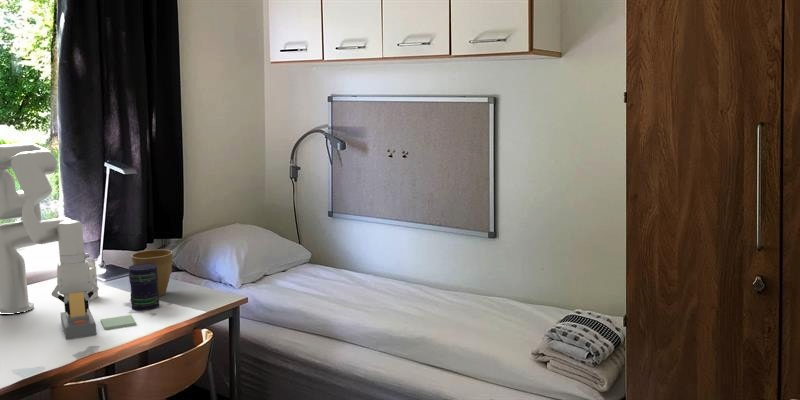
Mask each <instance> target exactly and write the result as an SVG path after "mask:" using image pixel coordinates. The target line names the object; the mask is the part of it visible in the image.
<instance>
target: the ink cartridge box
mask: <svg viewBox="0 0 800 400" xmlns="http://www.w3.org/2000/svg"><path fill="white" fill-rule="evenodd" d="M85 260H87V261H88V265H89V269H90V275H91V280H92V282H93V283H94V284H95V285H96V286H97V287H98V277H97V276H98V275H97V266H96V259H95V258H86V259H85ZM92 289H93V287H92ZM92 289H91V290H92ZM91 290H90V291H91ZM88 292H89V291H87V293H88ZM98 296H99V290H97V291H96V292H95V293H94V294H93V295H92V296H91V297H90V298H89V300H94V299H95V298H97V297H98ZM89 300H88V301H89Z"/></svg>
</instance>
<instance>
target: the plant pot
mask: <svg viewBox="0 0 800 400" xmlns="http://www.w3.org/2000/svg"><path fill="white" fill-rule="evenodd" d="M173 254H174V253H173V251H172V250H170V249H149V250H142V251H138V252H134V253H132V254H131V255H130V257H131V260H132V265H136V264H143V263H152V264H156V265H157V272H158V281H157V285H158V291H159V297H162V296H164V295H166V292H167V289H168V285H169V281H170V277H171V272H172V266H173V265H172V264H173Z"/></svg>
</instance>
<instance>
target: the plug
mask: <svg viewBox="0 0 800 400" xmlns="http://www.w3.org/2000/svg"><path fill="white" fill-rule="evenodd" d="M68 295H69V297H68V301H69V306H70V315H68V313H66V317H67V320H68V322H69V321H76V320H83V319H89V315H88V312H87V313H85V304H84V292H77V293H70V294H68Z"/></svg>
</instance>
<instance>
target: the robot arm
mask: <svg viewBox="0 0 800 400" xmlns="http://www.w3.org/2000/svg"><path fill="white" fill-rule="evenodd" d="M57 169H58V161H57V158H56V156H55V155H54V153H53V152H51V151H50V150H49V149H47V148H46V147H43V146H41V145H38V144H36V143H32V142H21V143H11V144H10V143H8V144H7V143H5V144H0V221H5V220H13V219H19V218H21V220H17V221H11V222H5V223H1V224H0V312H1V313H17V312H24V311H27V312H29V311H28V310H30V311H32V310H33V309H34V308H35V307H34V303H33V302H29V292H28V281H27V280H28V279H27V273H26V271H27V270H26V262H25V259H24V257H23V256H22V255H21V254H20V253H19V252H18V249H21V248H26V247H31V246H35V245H46V244H49V243H55V242H57V244H58V251H59V263H58V264H57V268H56V276H57V277H56V278H57V279H56V281H57V285H56V286H55V287H54V289H53V291H52V293H51V296H52V297H54V298H56V299H58V300H59V301H61V302H62V303H63V304H64V312H67V313H68V315H70V306H69V301H68V297H69V295H68V294H70V293H77V292H84V304H85V313H87V309H89V310H90V306H89V298H90V297H91V296H92V295H93V294H94V293H95V292H96V291H97V290H98V291H99V286H98V285H97V286H96V285H95V284H94V283H93V282H92V280H91V275H90V269H89V265H88V263H89V262H88V261H87V260H85V259H89V258H90V253H88V252H87V253H86V252H85V243H84V242H85V241H84V230H83V224H82V222H81V221H79V220H73V219H72V218H69V217H56V218H50V219H45V220H44V219H43V220H42V214H41V213H42V212H41V204H40V203H41V202H43V201H44V200H45V199H48V197H49V196H50V195H51V194H52V192H53V188H52V185H51V183H50V182H49V180H48V177H47V175H51V174H54V173H56V171H57ZM9 170H12V171H13V174H14V176H15V177H14V176H13V174H12V173H11V172H10V171H9ZM15 178H16V179H15ZM15 180H17V182H18V184H19V186H20V189H21V190H17V188H16V181H15ZM92 287H93V289H92ZM91 289H92V290H91ZM90 290H91V291H90ZM87 291H89V292H88V293H87ZM31 309H32V310H31ZM24 313H25V312H24Z"/></svg>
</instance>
